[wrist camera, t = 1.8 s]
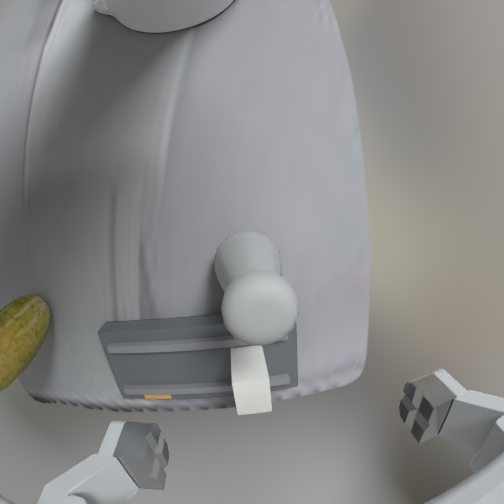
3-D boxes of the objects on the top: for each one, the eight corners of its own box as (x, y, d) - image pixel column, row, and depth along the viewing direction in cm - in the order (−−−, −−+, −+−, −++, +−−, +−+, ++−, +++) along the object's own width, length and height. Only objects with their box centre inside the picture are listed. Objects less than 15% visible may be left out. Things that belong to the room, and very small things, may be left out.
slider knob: (230, 347, 26) (231, 382, 21) (261, 344, 26) (269, 378, 21) (235, 379, 27) (237, 415, 22) (264, 375, 27) (271, 411, 22)
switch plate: (105, 321, 28) (95, 335, 24) (290, 304, 29) (297, 318, 26) (128, 385, 30) (121, 402, 27) (293, 373, 31) (299, 390, 28)
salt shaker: (248, 297, 28) (263, 379, 16) (203, 260, 27) (183, 324, 14) (288, 253, 27) (336, 310, 15) (244, 214, 26) (259, 241, 14)
